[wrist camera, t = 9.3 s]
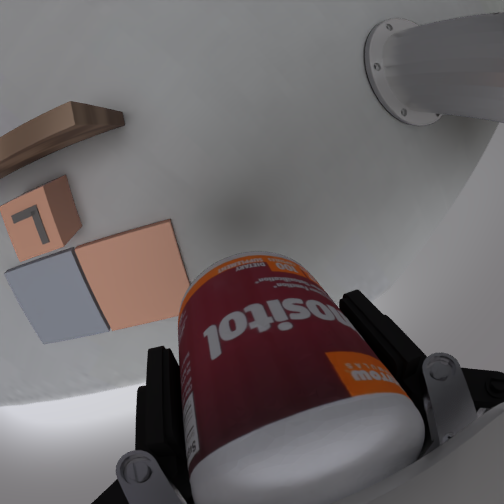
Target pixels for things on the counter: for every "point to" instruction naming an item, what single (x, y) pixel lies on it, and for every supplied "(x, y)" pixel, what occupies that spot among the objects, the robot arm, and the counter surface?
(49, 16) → the counter surface
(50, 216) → the terracotta cube
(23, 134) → the walnut wall
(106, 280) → the terracotta pad
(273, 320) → the pill bottle
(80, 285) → the slate pad
